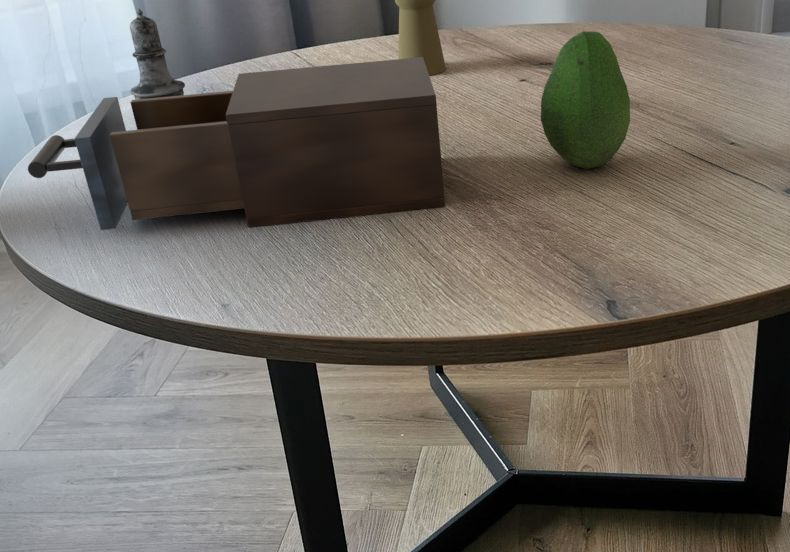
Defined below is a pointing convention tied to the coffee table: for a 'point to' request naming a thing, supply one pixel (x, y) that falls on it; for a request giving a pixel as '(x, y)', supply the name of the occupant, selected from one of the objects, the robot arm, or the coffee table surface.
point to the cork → (420, 34)
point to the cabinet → (336, 141)
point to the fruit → (586, 102)
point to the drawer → (153, 158)
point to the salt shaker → (151, 62)
